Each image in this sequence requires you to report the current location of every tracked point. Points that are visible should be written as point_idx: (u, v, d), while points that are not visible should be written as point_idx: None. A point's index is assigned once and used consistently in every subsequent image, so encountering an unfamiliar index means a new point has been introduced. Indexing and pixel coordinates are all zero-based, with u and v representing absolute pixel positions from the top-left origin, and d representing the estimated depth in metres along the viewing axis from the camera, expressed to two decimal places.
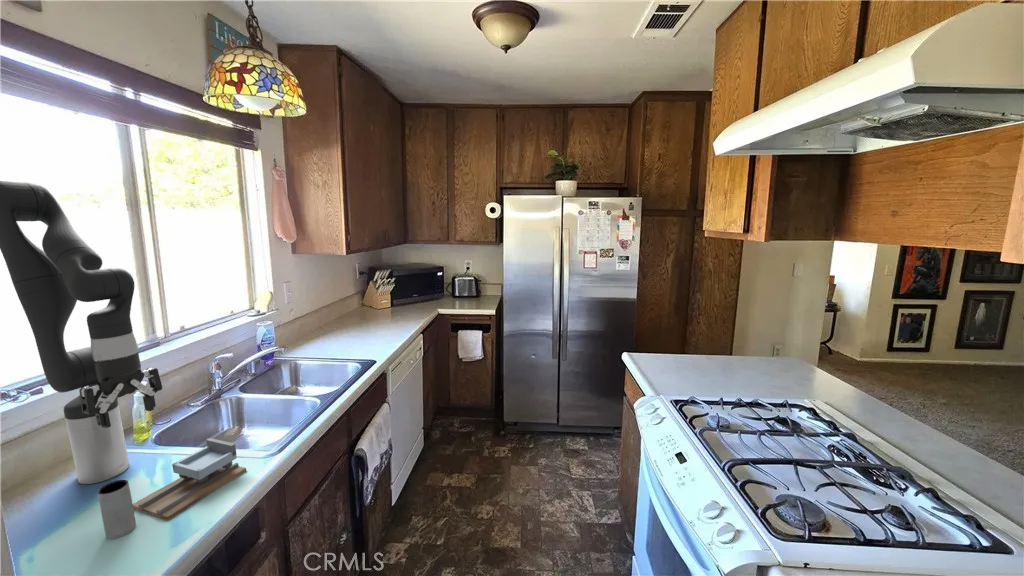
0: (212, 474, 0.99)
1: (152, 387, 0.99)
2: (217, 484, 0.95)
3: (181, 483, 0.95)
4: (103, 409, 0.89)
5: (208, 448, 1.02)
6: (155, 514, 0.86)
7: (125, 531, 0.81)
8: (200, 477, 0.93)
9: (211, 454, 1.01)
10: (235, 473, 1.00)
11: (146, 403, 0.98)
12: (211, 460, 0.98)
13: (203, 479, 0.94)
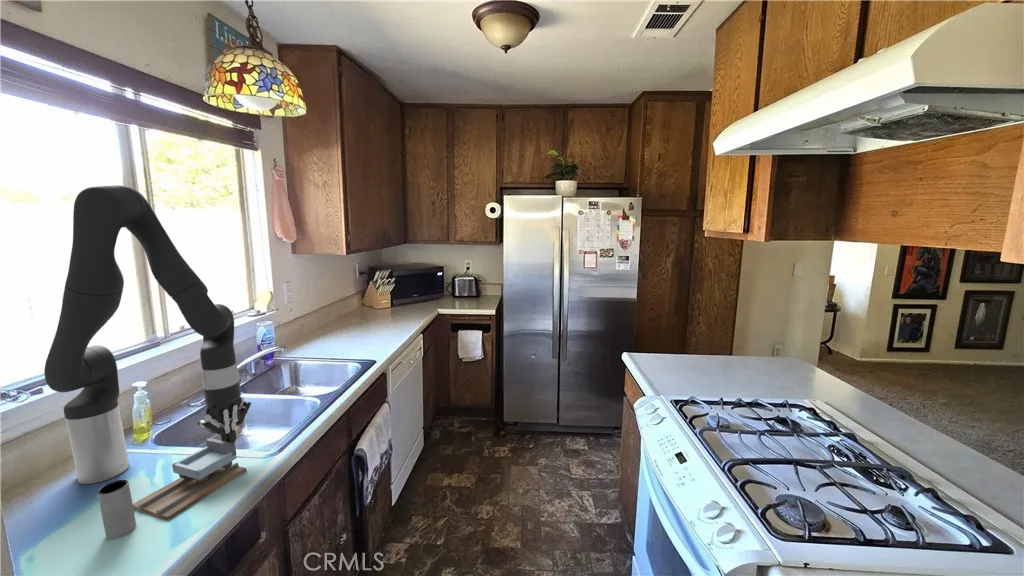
0: (212, 474, 0.99)
1: None
2: (217, 484, 0.95)
3: (181, 483, 0.95)
4: (228, 429, 1.02)
5: (208, 448, 1.02)
6: (155, 514, 0.86)
7: (125, 531, 0.81)
8: (200, 477, 0.93)
9: (211, 454, 1.01)
10: (235, 473, 1.00)
11: None
12: (211, 460, 0.98)
13: (203, 479, 0.94)
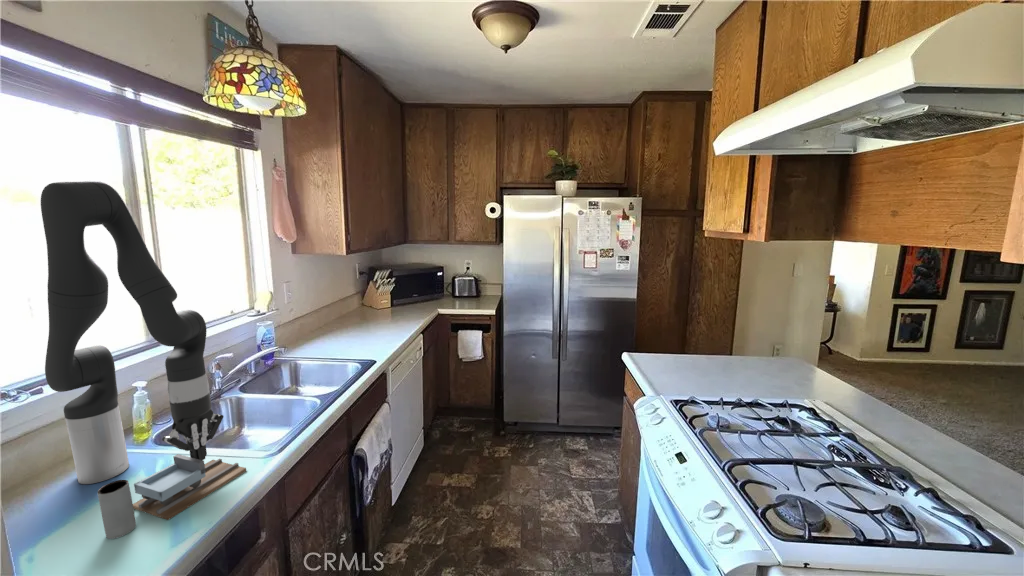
0: (212, 474, 0.99)
1: None
2: (217, 484, 0.95)
3: None
4: (197, 445, 0.95)
5: (175, 465, 0.95)
6: (155, 514, 0.86)
7: (125, 531, 0.81)
8: (163, 498, 0.85)
9: (178, 472, 0.94)
10: (235, 473, 1.00)
11: None
12: (177, 479, 0.91)
13: (167, 500, 0.87)
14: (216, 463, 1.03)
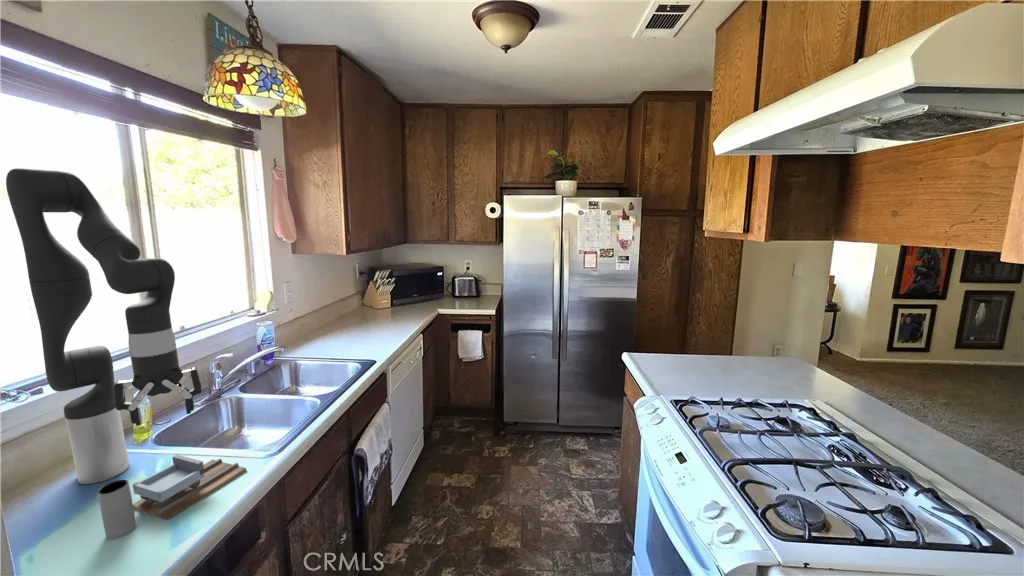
0: (212, 474, 0.99)
1: (194, 388, 0.91)
2: (217, 484, 0.95)
3: None
4: (132, 406, 0.84)
5: (174, 466, 0.95)
6: (155, 514, 0.86)
7: (125, 531, 0.81)
8: (162, 499, 0.85)
9: (177, 472, 0.93)
10: (235, 473, 1.00)
11: (186, 405, 0.91)
12: (176, 479, 0.91)
13: (166, 501, 0.87)
14: (216, 463, 1.03)
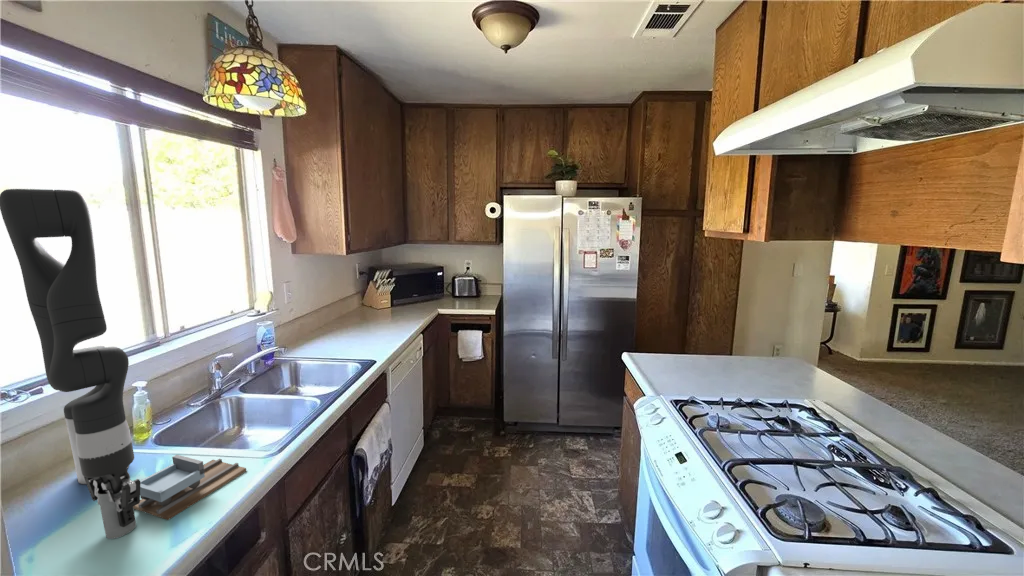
0: (212, 474, 0.99)
1: (129, 501, 0.80)
2: (217, 484, 0.95)
3: None
4: None
5: (174, 466, 0.95)
6: (155, 514, 0.86)
7: (125, 531, 0.81)
8: (162, 499, 0.85)
9: (177, 472, 0.93)
10: (235, 473, 1.00)
11: None
12: (176, 479, 0.91)
13: (166, 501, 0.87)
14: (216, 463, 1.03)
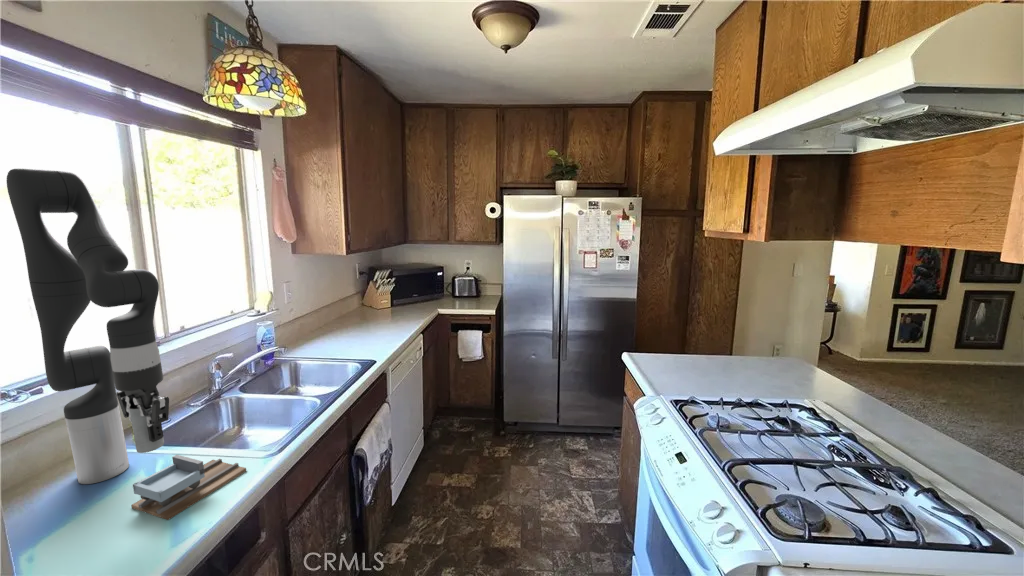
0: (212, 474, 0.99)
1: (158, 417, 0.84)
2: (217, 484, 0.95)
3: None
4: (130, 418, 0.85)
5: (174, 466, 0.95)
6: (155, 514, 0.86)
7: (154, 447, 0.85)
8: (162, 499, 0.85)
9: (177, 472, 0.93)
10: (235, 473, 1.00)
11: None
12: (176, 479, 0.91)
13: (166, 501, 0.87)
14: (216, 463, 1.03)
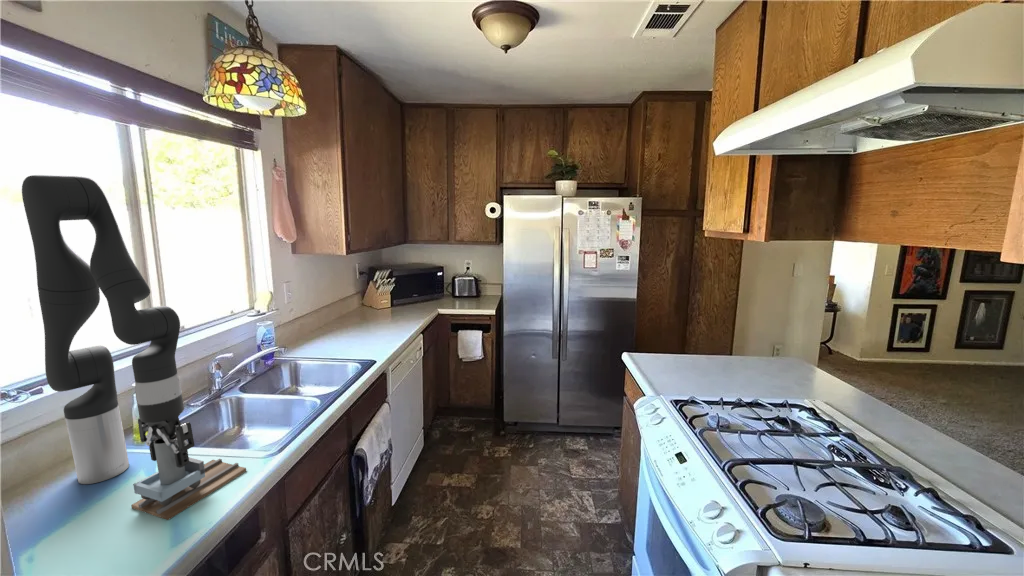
0: (212, 474, 0.99)
1: (185, 444, 0.88)
2: (217, 484, 0.95)
3: None
4: (147, 442, 0.90)
5: None
6: (155, 514, 0.86)
7: (177, 478, 0.90)
8: (162, 499, 0.85)
9: None
10: (235, 473, 1.00)
11: None
12: None
13: (166, 500, 0.87)
14: (216, 463, 1.03)
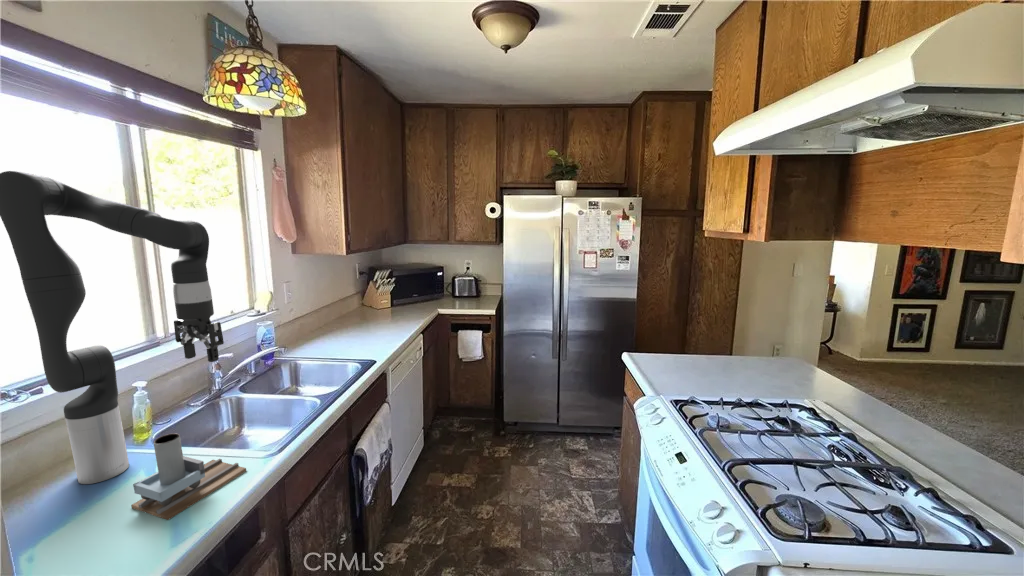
0: (212, 474, 0.99)
1: (215, 341, 1.01)
2: (217, 484, 0.95)
3: None
4: (182, 342, 1.03)
5: None
6: (155, 514, 0.86)
7: (177, 479, 0.90)
8: (162, 499, 0.85)
9: None
10: (235, 473, 1.00)
11: None
12: None
13: (166, 501, 0.87)
14: (216, 463, 1.03)
